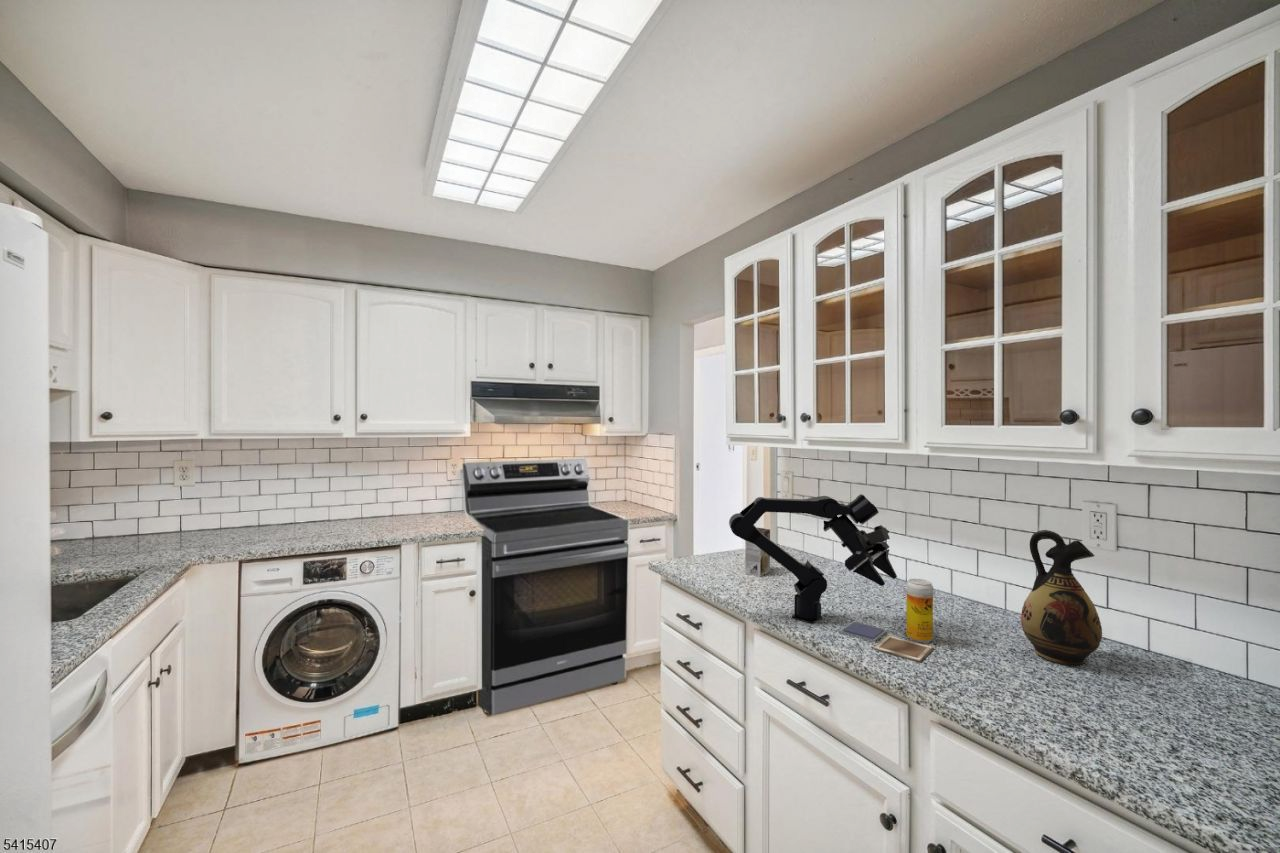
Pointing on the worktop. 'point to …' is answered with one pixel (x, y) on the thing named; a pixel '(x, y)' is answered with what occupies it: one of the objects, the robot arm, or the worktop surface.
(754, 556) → the coffee box
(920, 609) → the beer can
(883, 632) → the ink pad
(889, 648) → the marked square
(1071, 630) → the ceramic jug
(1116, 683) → the worktop surface
